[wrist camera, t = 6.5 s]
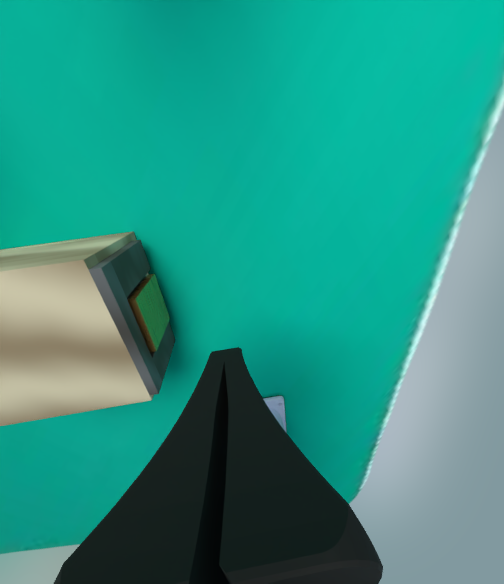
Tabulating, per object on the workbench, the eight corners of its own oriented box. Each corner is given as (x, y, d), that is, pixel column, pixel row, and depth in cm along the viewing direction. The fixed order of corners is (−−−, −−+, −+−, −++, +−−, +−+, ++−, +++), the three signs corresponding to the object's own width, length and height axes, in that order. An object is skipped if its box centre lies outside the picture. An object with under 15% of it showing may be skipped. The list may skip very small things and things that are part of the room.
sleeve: (178, 338, 21) (160, 398, 15) (61, 357, 20) (-2, 426, 15) (141, 230, 16) (96, 258, 10) (-11, 251, 16) (-145, 292, 10)
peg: (169, 317, 18) (156, 351, 15) (0, 344, 18) (-56, 385, 14) (154, 273, 17) (135, 299, 13) (-35, 301, 16) (-110, 335, 12)
